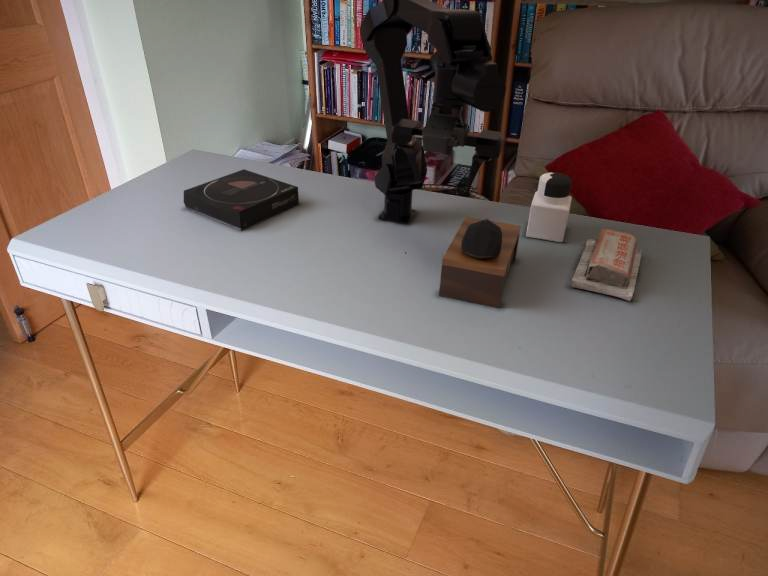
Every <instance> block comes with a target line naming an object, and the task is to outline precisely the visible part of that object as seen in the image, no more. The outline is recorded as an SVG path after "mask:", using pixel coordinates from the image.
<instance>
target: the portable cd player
mask: <svg viewBox="0 0 768 576" xmlns="http://www.w3.org/2000/svg"><path fill="white" fill-rule="evenodd" d="M299 199H300V198H299V186H296V185H293V184H290V183H287V182H283V181H281V180H278V179H275V178H272V177H269V176H266V175H263V174H260V173H257V172H255V171H252V170H251V171H250V170H248V169H244V168H243V169H241V170H238V171H234V172H231V173H229V174H227V175H224V176H221V177H218V178H215V179H212V180H210V181H207V182H204V183H201V184H199V185H196V186H193V187H190V188H187V189H185V190H183V204H184V206H185V208H186V210H189V211H191V212H194V213H196V214H199V215H201V216H203V217H206V218H208V219H211V220H213V221H216V222H218V223H221V224H222V225H226V226H229V227H231V228H233V229H236V230H239V231H243V230H245V229H248V228H250V227H252V226H254V225H257V224H259V223H261V222H263V221H266V220H268V219H270V218H272V217H274V216H275V217H276V215H280V214H281V213H283V212H285V211H288V210H290V209H292V208H294V207H297V206H299V205H300V200H299Z"/></svg>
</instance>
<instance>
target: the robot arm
mask: <svg viewBox="0 0 768 576" xmlns="http://www.w3.org/2000/svg"><path fill="white" fill-rule="evenodd" d="M414 27H415V28H417V29H418V30H420V31H421V32H423V33H425V34H426V35H427V41H428V43H429V44H430V46H432V47H433V48H434V49H435V50H436V51H435V52H434V53H432V55H431V56H430V57H429V59H430V61H431V62H433V63H435V64H436V65H435V73H434V76H435V77H434V85H433V86H434V87H433V97H432V100H433V102H432V103H431V108H430V114H429V116H428V118H427V121H426V122H425V125H424V127H422V126H423V125H422V121H421V120H415V119H410V113H409V106H408V100H407V99H408V98H407V91H406V85H405V78H404V70H403V65H402V64H403V63H402V59H403V56H404V54H405V52H406V49H407V47H408V35H409V34H410V33H411V31H412V30H413V28H414ZM359 35H360V38H361V40H362V43H363V47H364V51H365V54H366V55H367V57H369V59H370V60H371V61H372V63H373V64H374V65H375V69H376V75H377V81H378V87H379V94H380V101H381V107H382V114H383V120H384V128H385V135H386V141H387V143H386V145H385V148H384V150H383V153H382V155H381V167H380V169H379V170H378V171H377V173H376V174H375V175H374V178H373V179H374V185H375V188H376V189H377V190H378V191H380V193H382V194H383V196H384V197H383V200H384V201H383V210H382V211H381V212H380V214H379V215H378V216H377V219H378V220H381V221H388V222H393V223H399V224H405V225H407V224H408V225H409V223H410V222H411V221H412V219H413V218H414V216H415V215H416V214H417V210H416V209H413V194H414V193H413V192H414V191H415V190H422V189H423V187H424V183H425V181H426V177H427V174H428V164H427V161H426V154H425V153H431V152H433V153H440V154H441V155H449V154H451V153H452V152H453V151H454V148H458V147H462V148H464V147H471V148H474V154H473V155H472V156H471V157H472V158H471V165H470V170H469V173H468V177H467V181H466V191H470V189H471V187H472V185H473V183H474V181H475V178H476V177H477V174H478V172H479V170H480V168H481V166H482V164H484V162H491V160H492V159H497V158H500V156H501V154H502V152H503V150H504V148H505V142H506V135H505V134H504V132H503V131H495V130H489V129H488V130H487V129H482V130H481V131H480V133H479V134H478V135H476V134H469V127H468V123H467V118H468V108H469V106H470V107H472V108H475V109H476V110H479V112H480V111H481V112H484V113H489V112H492V111H494V110H495V109H498V107H499V106H500V105H501V104H502V102H503V101H504V98H505V95H506V91H507V87H506V83H505V79H504V77H503V76H502V75H501V74H500V73H498V67H499V65H498V63H496V62H492V61H493V55H492V47H491V45H490V42H489V40H488V35H487V32H486V28H485V25H484V22H483V20H482V16H481V13H479V12H478V11H477V10H474V9H462V8H461V9H460V8H446V7H445V6H442V5H440V4H438V3H435V2H434V1H431V0H381V1H379V2H378V3H377V4H375V5H374V6H372V7H371V8H369V9H368V10H367V12H366V14H365V15H364V17H363V19H362V20H361V23H360V25H359Z"/></svg>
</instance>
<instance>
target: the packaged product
mask: <svg viewBox="0 0 768 576" xmlns="http://www.w3.org/2000/svg"><path fill="white" fill-rule="evenodd" d="M637 239H638V238H637V237H636V236H634V235H633V234H631V233H629V232H624V231H620V230H616V229H609V228H601V230H600V231H599V234H598V236H597V239H596V240H595V239H594V238H588V239H587V240H586V244H585V247H584V249H583V251H582V253H581V256H580V259H579V261H578V264H577V267H576V269H575V270H574V271H575V272H574V274H573V276H572V279H571V288H576V289H580V290H586V291H590V292H594V293H599V294H603V295H608V296H613V297H615V298H620V299H623V300H626V301H628V302H631V300H632V298H633V295H634V292H635V288H636V283H637V278H638V273H639V268H640V264H641V260H642V256H643V255H642V254H643V251H642V250H638V249H637Z"/></svg>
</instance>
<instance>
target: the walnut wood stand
mask: <svg viewBox="0 0 768 576" xmlns="http://www.w3.org/2000/svg"><path fill="white" fill-rule="evenodd" d="M482 220H483V219H481V218H476V217H470V216H465V218H464V219H463V221H462V223H461V224H460V226H459V228H458V230H457V231H456V232H455V235H454V237H453V239H452V241H450V244H449V245H448V248H447V249H446V251H445V253H444V255H443V256H442V260H441V269H440V281H439V292H438V296H439V297H444V298H450V299H453V300H459V301H462V302H468V303H473V304H479V305H483V306H488V307H491V308H492V307H493V308H498V309H499V308H500V307H501V305H502V299H503V293H504V292H503V291H504V285H505V281H506V278H507V275H508V272H509V269H510V266H511V264H512V263H513V264H515V262H516V260H517V253H518V248H519V241H520V236H521V235H520V234H521V230H522V226H521V225H518V224H512V223H506V222H500V221H494V220H490V221H491V222H493V223H494V224H496V225H497V226H499V227H500V228H501V231H502V245H501V251H500V253H499V255H498V256H495V257H489V258H478V257H473V256H471V255H469V254H467V253H465V252H463V251H462V248H461V243H462V239H463V236H464V234H465V231H466V229H467V227H468V226H469V225H470V224H473V223H476V222H479V221H482Z"/></svg>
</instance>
